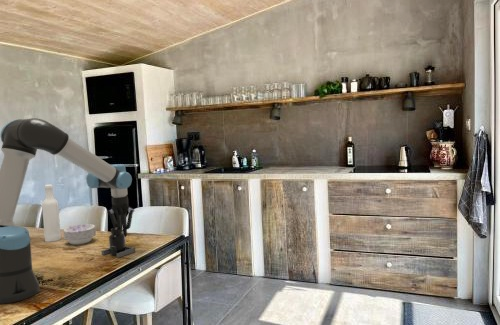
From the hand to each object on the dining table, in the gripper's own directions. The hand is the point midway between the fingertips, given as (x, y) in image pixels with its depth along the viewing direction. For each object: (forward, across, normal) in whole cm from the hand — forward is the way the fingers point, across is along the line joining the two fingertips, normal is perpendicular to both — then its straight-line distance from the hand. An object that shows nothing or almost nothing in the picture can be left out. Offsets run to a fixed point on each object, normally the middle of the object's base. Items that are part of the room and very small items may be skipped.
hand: (123, 243), depth 191 cm
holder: (+1, 0, +6) cm, 6 cm away
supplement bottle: (+2, -2, +12) cm, 12 cm away
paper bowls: (+2, +26, -10) cm, 28 cm away
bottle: (+1, +44, -16) cm, 47 cm away
